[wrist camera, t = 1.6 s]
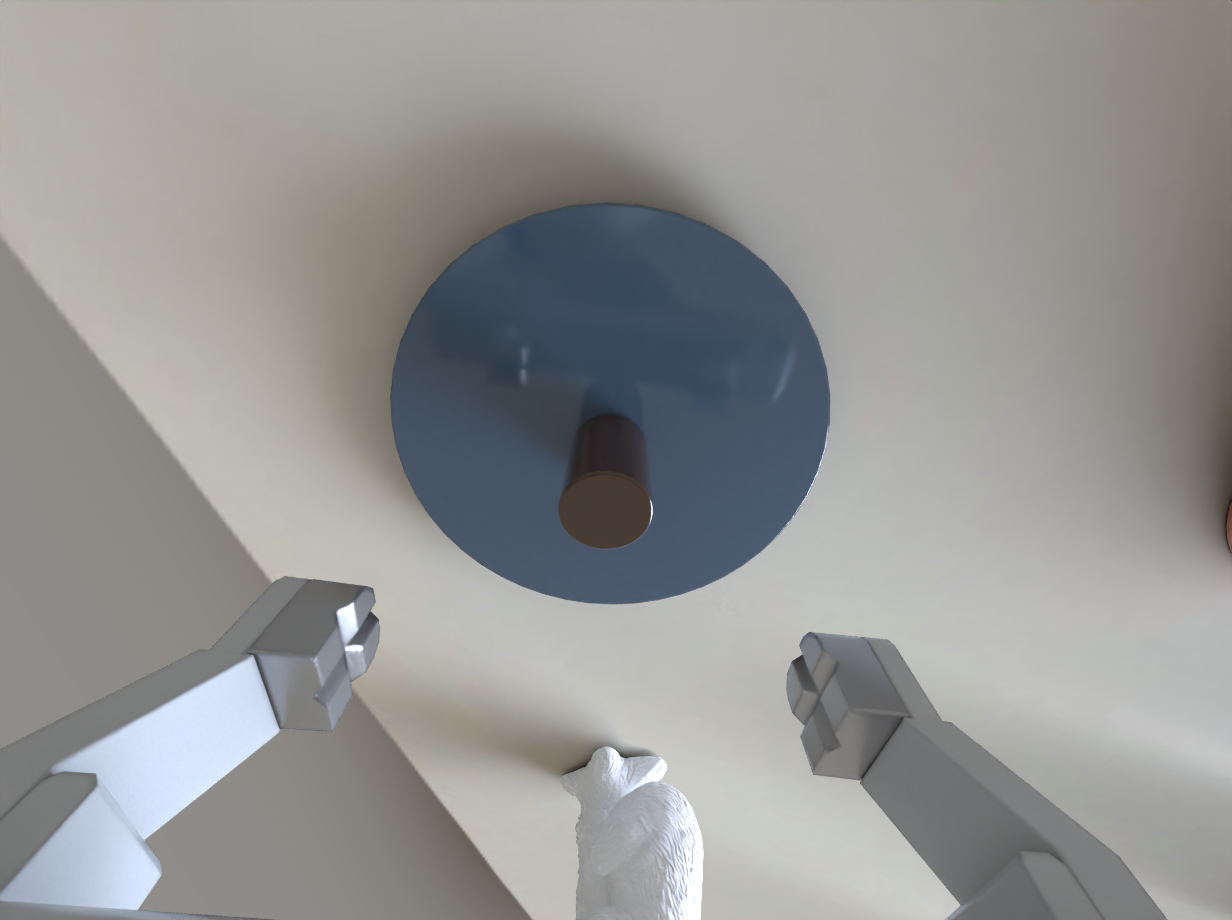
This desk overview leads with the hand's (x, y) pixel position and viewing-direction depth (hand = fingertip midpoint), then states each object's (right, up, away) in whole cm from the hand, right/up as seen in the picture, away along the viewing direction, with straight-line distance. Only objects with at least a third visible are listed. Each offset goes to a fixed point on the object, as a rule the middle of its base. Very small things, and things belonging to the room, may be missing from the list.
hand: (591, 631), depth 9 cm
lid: (0, +4, +6) cm, 8 cm away
